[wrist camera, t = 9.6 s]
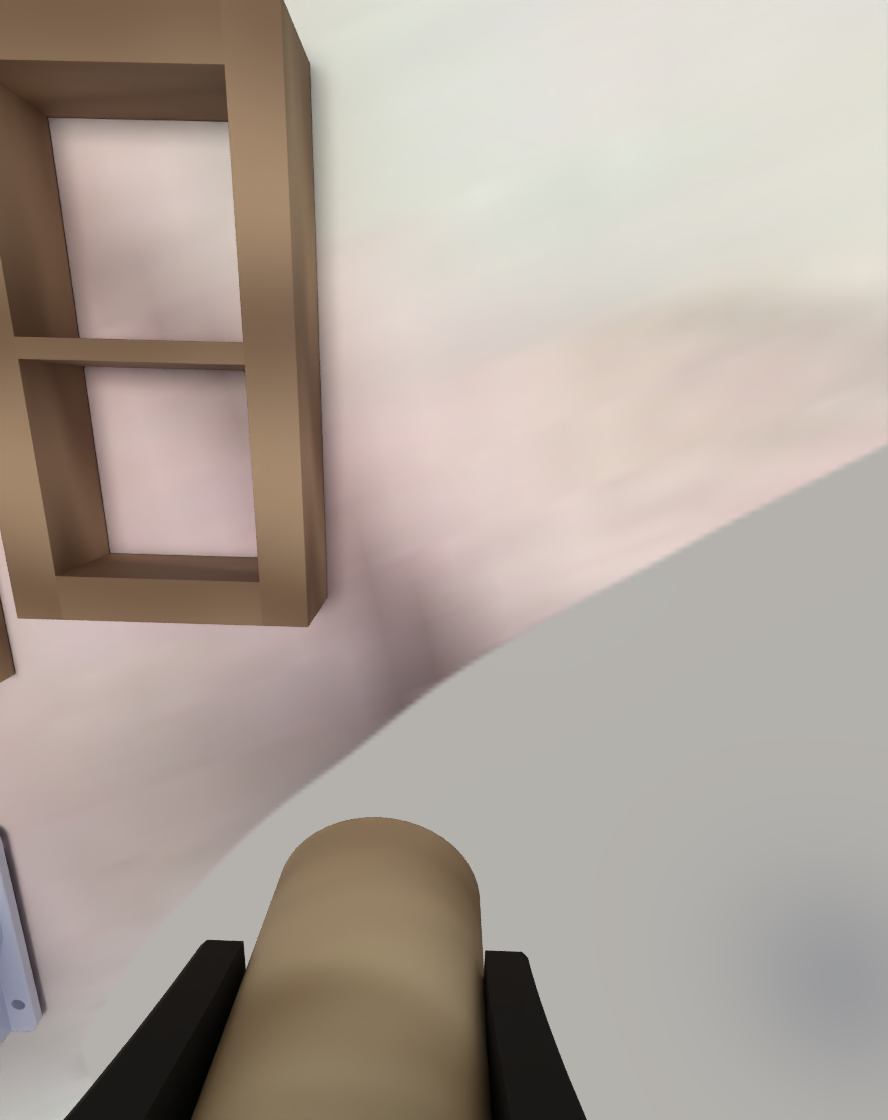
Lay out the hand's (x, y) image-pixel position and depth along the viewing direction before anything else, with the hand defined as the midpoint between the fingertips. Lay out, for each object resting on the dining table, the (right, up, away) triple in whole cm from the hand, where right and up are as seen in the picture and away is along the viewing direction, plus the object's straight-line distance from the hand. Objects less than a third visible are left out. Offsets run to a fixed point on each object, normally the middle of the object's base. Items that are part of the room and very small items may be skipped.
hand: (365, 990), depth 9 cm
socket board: (-6, +13, +6) cm, 16 cm away
